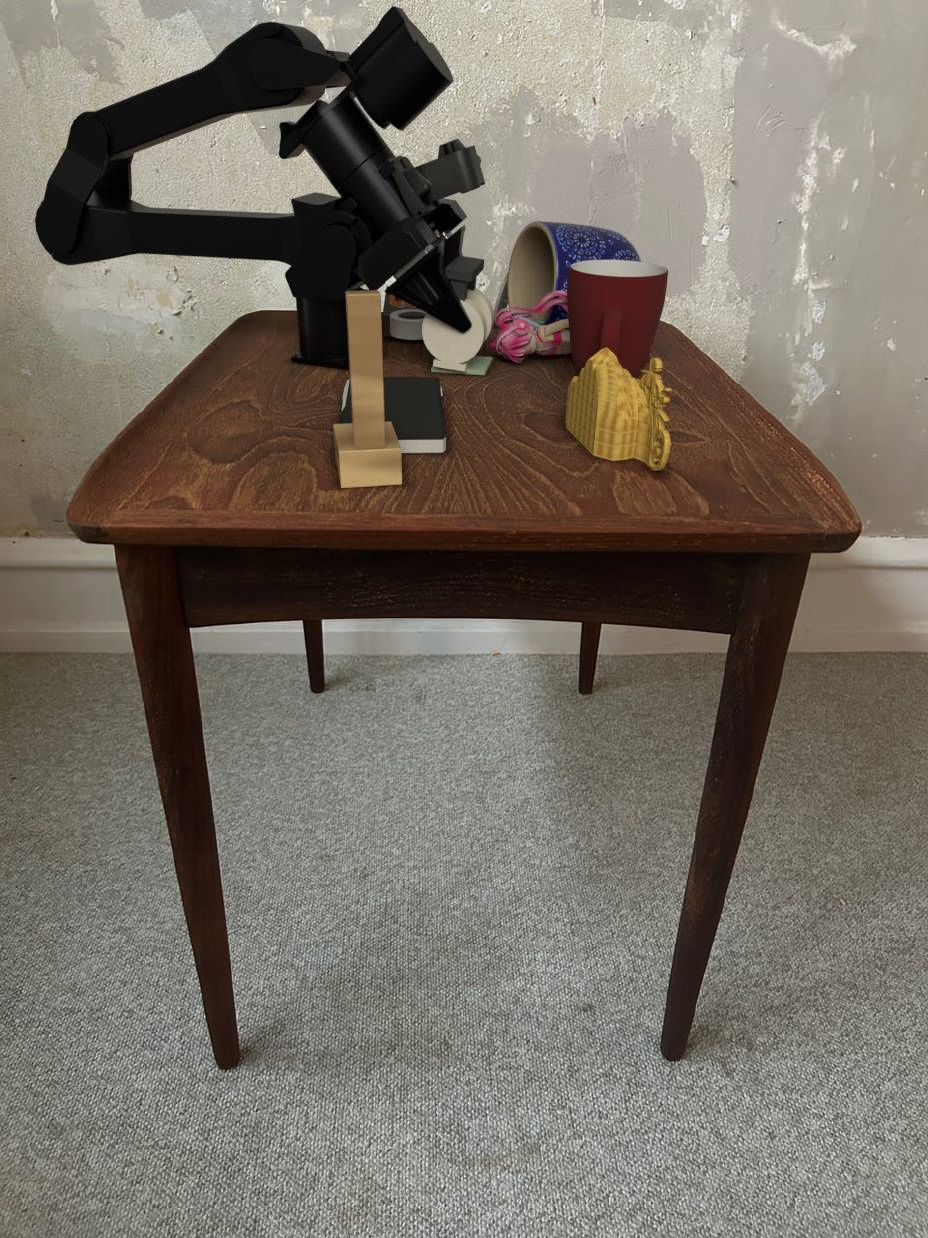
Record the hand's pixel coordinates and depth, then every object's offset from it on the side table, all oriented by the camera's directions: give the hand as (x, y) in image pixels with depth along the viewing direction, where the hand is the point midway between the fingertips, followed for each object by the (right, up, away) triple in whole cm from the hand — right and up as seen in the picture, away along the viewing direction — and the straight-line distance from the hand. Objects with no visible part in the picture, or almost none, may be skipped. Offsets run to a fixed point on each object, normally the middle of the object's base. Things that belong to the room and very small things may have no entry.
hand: (474, 320), depth 79 cm
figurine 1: (+3, +8, +15) cm, 18 cm away
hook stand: (-8, -17, -20) cm, 27 cm away
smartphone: (-7, -12, -11) cm, 17 cm away
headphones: (-2, -3, +2) cm, 4 cm away
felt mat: (-1, -3, +2) cm, 4 cm away
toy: (+9, -2, +6) cm, 11 cm away
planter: (+16, +8, +12) cm, 21 cm away
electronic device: (-6, +5, +16) cm, 18 cm away
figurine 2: (+10, -15, -16) cm, 24 cm away
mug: (+11, -8, -4) cm, 15 cm away
